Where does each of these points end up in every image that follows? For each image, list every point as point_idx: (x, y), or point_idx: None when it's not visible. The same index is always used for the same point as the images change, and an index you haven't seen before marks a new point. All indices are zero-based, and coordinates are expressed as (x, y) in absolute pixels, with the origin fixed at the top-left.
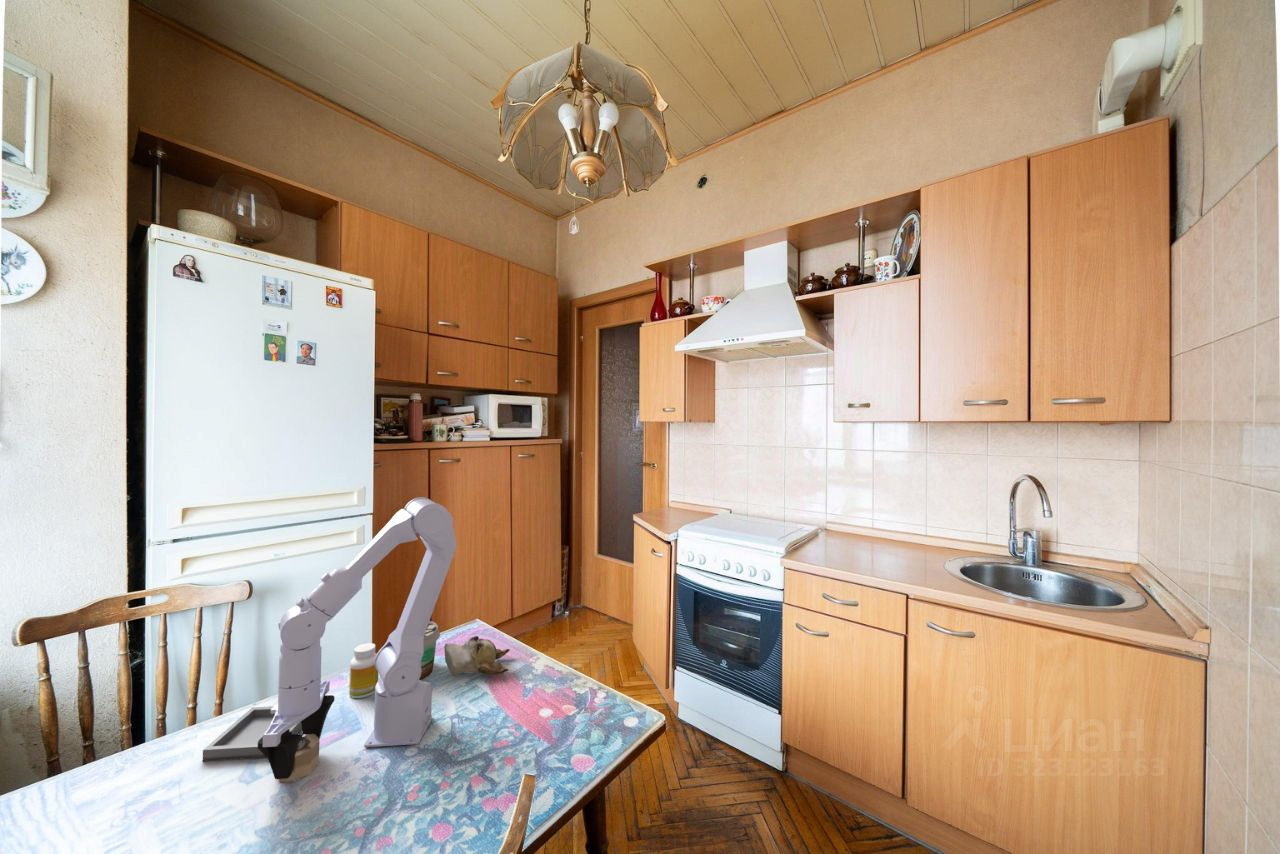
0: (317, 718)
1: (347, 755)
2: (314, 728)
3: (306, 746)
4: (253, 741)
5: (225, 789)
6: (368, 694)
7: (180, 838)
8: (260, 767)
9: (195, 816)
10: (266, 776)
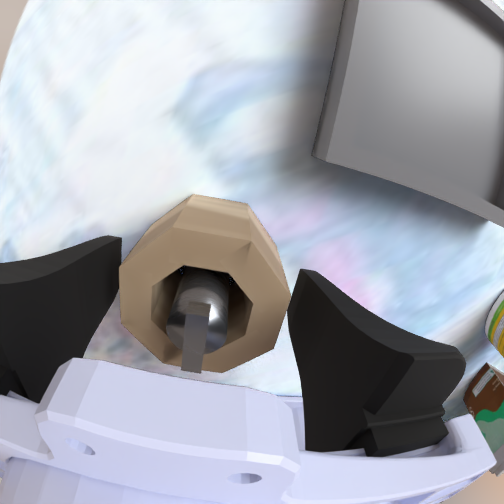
0: (312, 392)
1: (240, 368)
2: (305, 346)
3: (246, 305)
4: (419, 53)
5: (164, 48)
6: (486, 332)
7: (11, 68)
8: (262, 115)
9: (68, 41)
10: (196, 161)
